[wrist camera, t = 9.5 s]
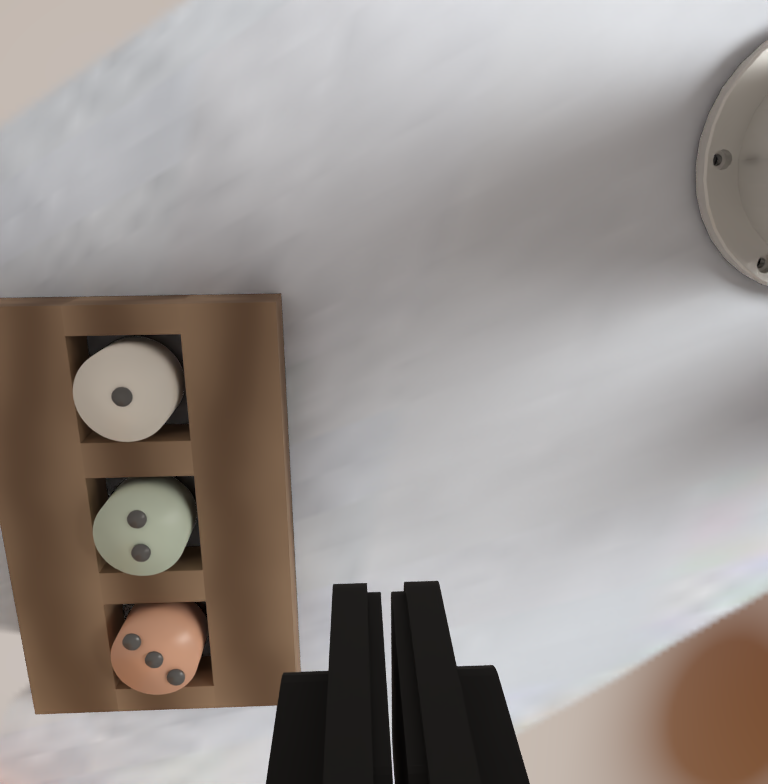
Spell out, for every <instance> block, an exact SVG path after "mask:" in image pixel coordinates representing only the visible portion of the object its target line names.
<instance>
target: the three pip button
mask: <svg viewBox="0 0 768 784" xmlns="http://www.w3.org/2000/svg"><path fill="white" fill-rule="evenodd" d="M207 636H208V623H207V619H206V617H205V615H204V613H203V611H202V610H201V609H200V607H199V606H198V605H197V604H195V603H194V602H168V603H136V604H135V605H134V606H133V607H132V609H131V610H130V612H129V614H128V616H127V618H126V620H125V622H124V623H123V625H122V627H121V629H120V631H119V633H118V635H117V637H116V639H115V641H114V643H113V645H112V649H111V663H112V667H113V669H114V671H115V673H116V675H117V676H118V677H119V679H120V680H121V681H122V682H123V683H125V684H126V685H127V686H129V687H130V688H132V689H134V690H136V691H139V692H142V693H146V694H152V695H162V694H168V693H172V692H175V691H177V690H179V689H181V688H183V687H184V686H185V685H187V684H188V683H189V682H190V681H191V680H192V678H193V677H194V675H195V673H196V671H197V667H198V664H199V661H200V658H201V655H202V652H203V649H204V646H205V642H206V639H207Z"/></svg>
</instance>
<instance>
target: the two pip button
mask: <svg viewBox="0 0 768 784" xmlns="http://www.w3.org/2000/svg"><path fill="white" fill-rule="evenodd" d="M196 520H197V506H196V502H195V500H194V497H193V495H192V494H191V492H190V491H189V489H188V488H187V487H186V486H185V485H184V484H183V483H182V482H180V481H179V480H177V479H176V478H174V477H172V476H159V477H129V478H127V479H126V480H124V481H123V482H122V483H121V484H120V485H119V486H118V487H117V489H116V490H115V491H114V492H113V494H112V495H111V496H110V498H109V499H108V500H107V502H106V503H105V504H104V506H103V507H102V508H101V509H100V511H99V512H98V514H97V516H96V518H95V521H94V525H93V539H94V543H95V545H96V548H97V550H98V552H99V553H100V555H101V556H102V557H103V558H104V560H105V561H106V562H108V563H109V564H110V565H111V566H113V567H114V568H116V569H118V570H120V571H122V572H124V573H127V574H131V575H137V576H148V575H154V574H158V573H161V572H163V571H165V570H167V569H169V568H170V567H171V566H173V565H174V564H175V563H176V562H177V561H178V559H179V558H180V556H181V555H182V553H183V551H184V548H185V546H186V544H187V542H188V540H189V537H190V535H191V533H192V531H193V529H194V527H195V524H196Z"/></svg>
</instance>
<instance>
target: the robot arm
mask: <svg viewBox="0 0 768 784" xmlns="http://www.w3.org/2000/svg"><path fill="white" fill-rule="evenodd" d="M714 155H716V156H717V159H718V161H717V163H716V164H715V165H713V158H714ZM696 195H697V199H698V204H699V209H700V213H701V218H702V220H703V222H704V225H705V227H706V229H707V232H708V234H709V236H710V238H711V240H712V242H713V243H714V244H715V246H716V247H717V249H718V250H719V251H720V253H721V254H722V255H723V257H724V258H725V259H726V260H727V261H728V262H729V263H730V264H732V265H733V266H734V267H735V268H736V269H737V270H738V271H739V272H741V273H742V274H744V275H746V276H747V277H749V278H751V279H753V280H755V281H756V282H758V283H760V284H763V285H766V286H768V40H767V41H766V42H764V43H762V44H761V45H760V46H759V47H758V48H757V49H756V50H755V51H754V52H753V53H752V54H751V55H750V56H748V57H747V58H746V59H745V60H744V61H743V62H742V63H741V64H740V65H739V67H738V68H737V69H736V70H735V72H734V73H733V74H732V76H731V77H730V78H729V80H728V81H727V82H726V84H725V85H724V86H723V88H722V89H721V91H720V93H719V95H718V97H717V99H716V101H715V103H714V104H713V106H712V108H711V110H710V112H709V114H708V117H707V120H706V123H705V126H704V129H703V132H702V135H701V138H700V142H699V148H698V155H697V161H696ZM759 259H760V263H759V265H758V266H757V263H758V260H759ZM391 654H392V745H393V763H394V778H395V784H530V783H529V779H528V776H527V773H526V769H525V766H524V762H523V759H522V755H521V752H520V749H519V745H518V742H517V738H516V735H515V731H514V728H513V724H512V721H511V718H510V714H509V711H508V707H507V704H506V700H505V697H504V693H503V690H502V687H501V683H500V680H499V676H498V673H497V671H496V668H495V667H494V666H493V665H484V666H456V661H455V656H454V652H453V647H452V642H451V637H450V633H449V628H448V623H447V618H446V614H445V609H444V604H443V599H442V595H441V590H440V585H439V582H438V581H421V582H404V591H398V592H391ZM266 784H393V778H392V760H391V745H390V729H389V714H388V699H387V683H386V668H385V652H384V637H383V621H382V606H381V592H367V583H355V584H333V593H332V613H331V632H330V651H329V671H313V672H284V673H283V675H282V678H281V684H280V690H279V697H278V704H277V711H276V718H275V725H274V732H273V739H272V745H271V752H270V759H269V766H268V773H267V780H266Z"/></svg>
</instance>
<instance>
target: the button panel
mask: <svg viewBox="0 0 768 784" xmlns="http://www.w3.org/2000/svg"><path fill="white" fill-rule="evenodd" d="M161 334H181V343H182V354H183V365H184V375H185V386H186V396H187V407H188V418H189V424H164V425H163V426H162V427H161V428H160V429H159V430H158V431H157V432H156V433H154V434H153V435H151V436H149V437H147V438H145V439H142V440H138V441H133V442H121V441H115V440H111V439H108V438H106V437H103V436H102V435H100V434H98V433H96V432H95V431H94V430H92V429H91V428H90V427H89V426H88V425H87V424H86V423H85V422H84V421H83V419H82V418H81V416H80V415H79V413H78V411H77V409H76V406H75V403H74V399H73V384H74V379H75V377H76V374H77V372H78V370H79V368H80V367H81V366H82V365H83V363H84V362H85V361H86V360H87V359H89V351H88V344H87V336H104V335H161ZM159 476H194V481H195V492H196V502H197V513H198V524H199V534H200V545H201V546H189V547H185V548H184V551H183V553H182V555H181V556H180V558H179V559H178V561H177V562H176V563H175V564H174V565H173V566H171V567H170V568H169V569H167V570H165V571H163V572H161V573H158V574H154V575H148V576H137V575H131V574H127V573H124V572H122V571H120V570H118V569H116V568H114V567H113V566H111V565H110V564H109V563H108V562H106V561H105V560H104V558H103V557H102V556H101V555H100V553H99V552H98V550H97V548H96V545H95V543H94V539H93V525H94V521H95V518H96V516H97V514H98V512H99V511H100V509H101V508H102V507H103V506H104V504H105V503H106V502H107V500H108V493H107V486H106V478H118V477H159ZM0 525H1V530H2V536H3V541H4V547H5V552H6V557H7V563H8V568H9V574H10V579H11V585H12V590H13V595H14V601H15V606H16V612H17V617H18V623H19V628H20V633H21V639H22V644H23V649H24V655H25V661H26V666H27V671H28V677H29V682H30V688H31V693H32V699H33V704H34V709H35V714H57V713H84V712H111V711H138V710H165V709H193V708H220V707H247V706H274V705H277V704H278V697H279V690H280V684H281V678H282V675H283V673H284V672H301V668H300V649H299V630H298V610H297V591H296V571H295V552H294V533H293V513H292V494H291V474H290V455H289V435H288V416H287V397H286V377H285V358H284V338H283V319H282V300H281V294H222V295H158V296H93V297H29V298H0ZM200 601H206V608H207V619H208V630H209V640H210V651H211V656H203V657H201V658H200V661H199V664H198V667H197V671H196V673H195V675H194V677H193V678H192V680H191V681H190V682H189V683H188V684H187V685H185V686H184V687H183V688H181V689H179V690H177V691H175V692H172V693H168V694H162V695H152V694H146V693H142V692H139V691H136V690H134V689H132V688H130V687H129V686H127V685H126V684H125V683H123V682H122V681H121V680H120V679H119V677H118V676H117V675H116V673H115V671H114V669H113V667H112V663H111V649H112V645H113V643H114V641H115V639H116V637H117V635H118V633H119V631H120V629H121V627H122V625H123V623H124V622H125V620H124V613H123V606H122V604H136V603H168V602H200Z"/></svg>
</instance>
